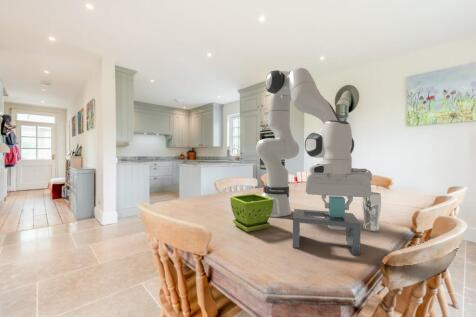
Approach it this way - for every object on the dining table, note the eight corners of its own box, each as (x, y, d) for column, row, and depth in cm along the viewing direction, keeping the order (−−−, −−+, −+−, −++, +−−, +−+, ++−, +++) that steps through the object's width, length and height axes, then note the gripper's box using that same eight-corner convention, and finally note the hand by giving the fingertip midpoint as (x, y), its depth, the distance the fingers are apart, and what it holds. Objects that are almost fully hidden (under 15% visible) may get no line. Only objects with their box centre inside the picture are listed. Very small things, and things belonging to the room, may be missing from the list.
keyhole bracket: (292, 247, 73) (292, 217, 73) (294, 234, 84) (294, 209, 84) (360, 255, 67) (360, 223, 67) (352, 241, 79) (352, 213, 78)
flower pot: (229, 224, 96) (229, 196, 96) (255, 220, 103) (255, 193, 103) (245, 235, 84) (245, 202, 84) (274, 229, 91) (274, 198, 91)
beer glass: (382, 229, 91) (383, 193, 91) (378, 233, 86) (379, 195, 86) (364, 225, 96) (364, 191, 96) (359, 229, 91) (359, 193, 91)
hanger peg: (329, 228, 73) (329, 198, 73) (327, 223, 78) (327, 195, 77) (345, 230, 71) (346, 199, 71) (343, 225, 76) (343, 196, 76)
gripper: (369, 168, 74) (368, 208, 74) (305, 166, 80) (305, 204, 80) (374, 169, 68) (374, 213, 68) (305, 167, 74) (305, 208, 74)
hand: (336, 208), depth 74 cm, fingers closed on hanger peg, 4 cm apart
